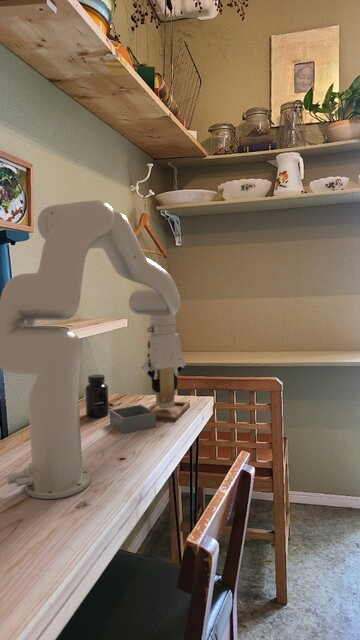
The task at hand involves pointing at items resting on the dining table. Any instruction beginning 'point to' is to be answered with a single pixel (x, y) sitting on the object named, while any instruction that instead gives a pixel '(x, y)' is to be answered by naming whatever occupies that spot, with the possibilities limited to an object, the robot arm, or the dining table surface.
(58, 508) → the dining table surface
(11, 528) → the dining table surface
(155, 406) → the tray
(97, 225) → the robot arm
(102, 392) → the supplement bottle
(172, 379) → the skincare box
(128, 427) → the holder
